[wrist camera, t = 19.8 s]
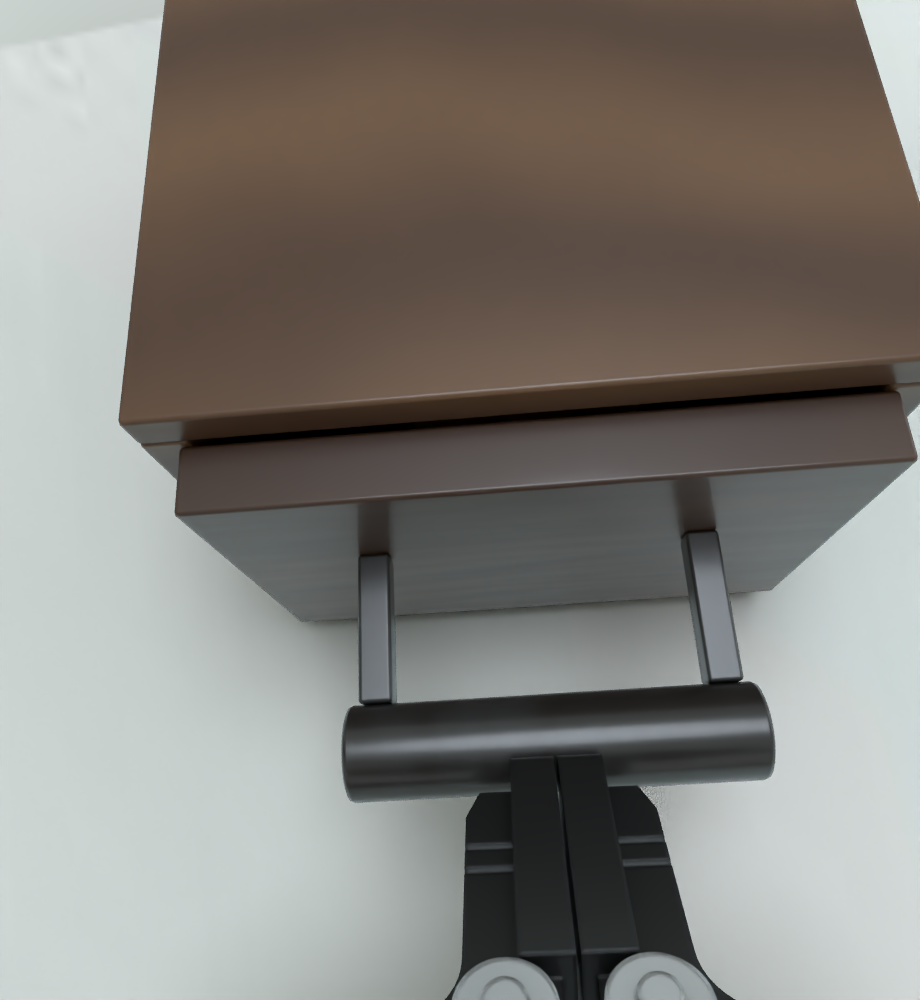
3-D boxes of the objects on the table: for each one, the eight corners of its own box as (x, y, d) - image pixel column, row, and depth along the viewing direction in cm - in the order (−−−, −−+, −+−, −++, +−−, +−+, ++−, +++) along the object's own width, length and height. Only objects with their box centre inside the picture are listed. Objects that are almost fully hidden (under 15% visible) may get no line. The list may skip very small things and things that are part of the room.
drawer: (809, 781, 18) (1004, 762, 11) (296, 810, 18) (148, 810, 11) (686, 149, 24) (756, -133, 17) (309, 185, 25) (219, -73, 18)
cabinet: (777, 552, 21) (970, 355, 12) (287, 586, 21) (115, 424, 12) (689, 113, 26) (776, -255, 17) (298, 151, 26) (183, -184, 18)
